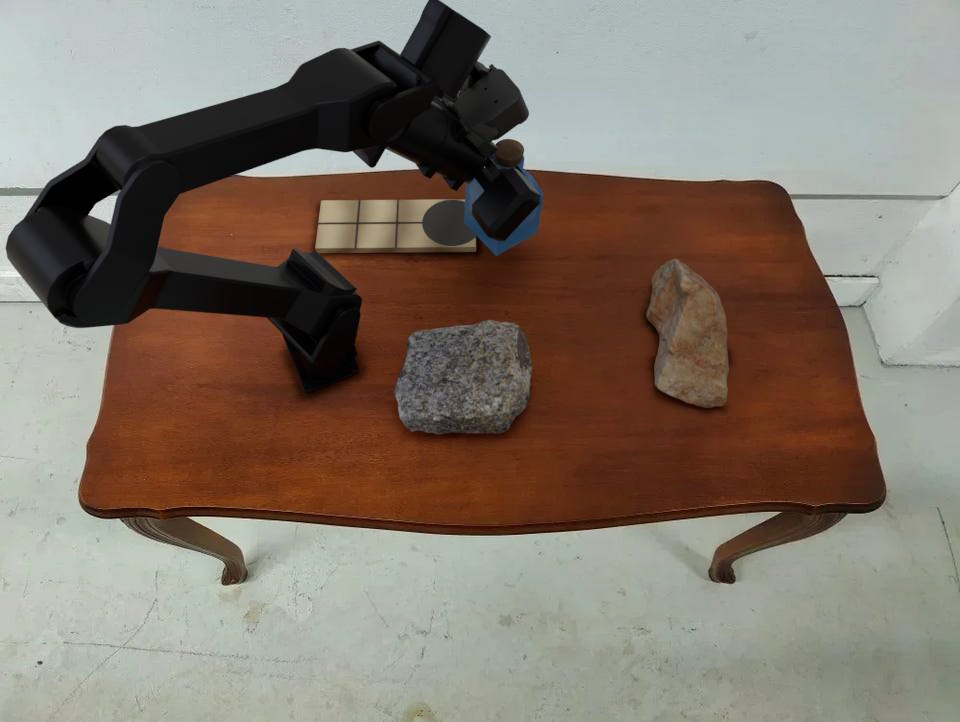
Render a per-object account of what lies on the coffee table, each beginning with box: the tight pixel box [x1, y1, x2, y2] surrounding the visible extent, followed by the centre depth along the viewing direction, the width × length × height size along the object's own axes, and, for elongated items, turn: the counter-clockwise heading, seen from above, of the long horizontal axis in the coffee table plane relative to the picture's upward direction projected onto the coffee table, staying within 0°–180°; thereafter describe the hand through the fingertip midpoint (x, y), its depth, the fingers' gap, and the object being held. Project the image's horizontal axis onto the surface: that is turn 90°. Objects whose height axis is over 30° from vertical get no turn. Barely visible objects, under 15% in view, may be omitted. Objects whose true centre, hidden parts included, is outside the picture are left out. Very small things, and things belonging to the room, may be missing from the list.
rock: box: [392, 319, 534, 436], centre depth 76 cm, size 13×6×15 cm
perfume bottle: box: [464, 138, 545, 257], centre depth 79 cm, size 6×6×12 cm
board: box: [314, 198, 477, 254], centre depth 90 cm, size 21×8×1 cm, turn 91°
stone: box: [646, 258, 730, 409], centre depth 81 cm, size 17×9×10 cm, turn 172°
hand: (515, 182), depth 79 cm, fingers closed on perfume bottle, 6 cm apart
